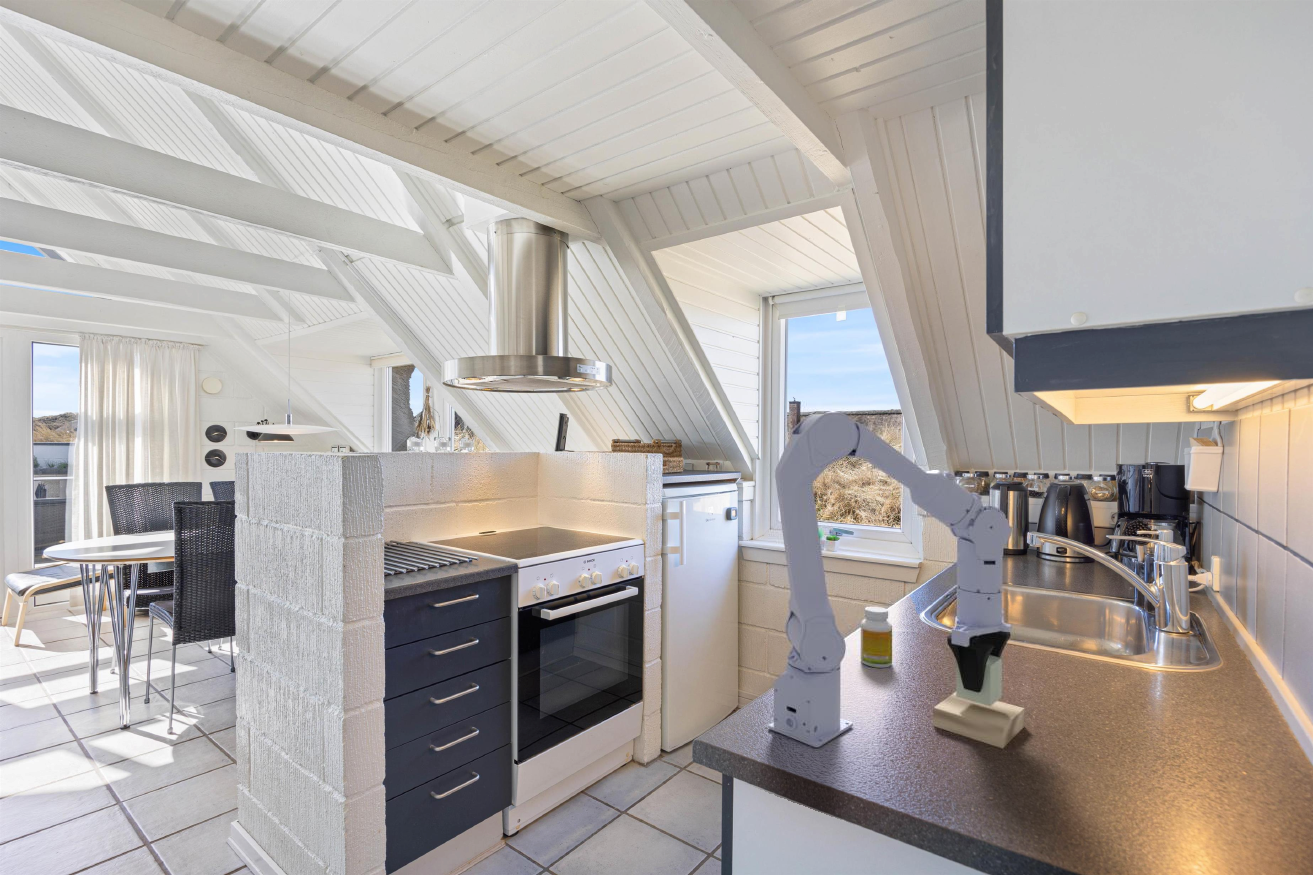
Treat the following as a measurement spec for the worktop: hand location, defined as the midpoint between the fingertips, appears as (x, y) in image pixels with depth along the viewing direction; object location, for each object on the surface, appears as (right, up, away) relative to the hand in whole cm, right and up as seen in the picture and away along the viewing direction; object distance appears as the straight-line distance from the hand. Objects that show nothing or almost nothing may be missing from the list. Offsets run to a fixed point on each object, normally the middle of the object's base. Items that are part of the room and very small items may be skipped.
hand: (979, 685), depth 90 cm
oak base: (0, -6, 0) cm, 6 cm away
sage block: (0, -2, 0) cm, 2 cm away
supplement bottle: (-6, -6, +25) cm, 26 cm away
